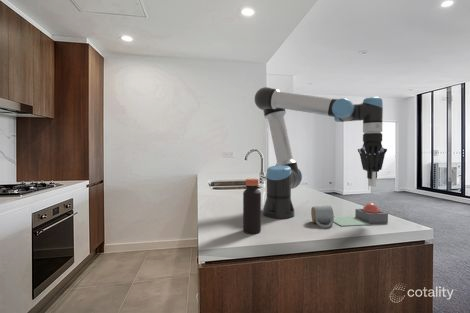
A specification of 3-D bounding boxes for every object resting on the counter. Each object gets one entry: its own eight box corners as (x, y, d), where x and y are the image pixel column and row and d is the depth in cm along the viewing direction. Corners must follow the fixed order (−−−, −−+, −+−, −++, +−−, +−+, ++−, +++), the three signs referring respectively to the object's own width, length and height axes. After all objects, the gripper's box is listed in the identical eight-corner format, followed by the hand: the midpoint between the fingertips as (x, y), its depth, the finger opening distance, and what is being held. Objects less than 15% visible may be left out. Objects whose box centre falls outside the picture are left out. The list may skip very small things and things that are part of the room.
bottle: (260, 234, 88) (260, 180, 88) (241, 233, 90) (241, 180, 89) (261, 228, 95) (261, 178, 95) (244, 227, 96) (244, 178, 96)
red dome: (369, 216, 104) (369, 204, 103) (359, 213, 110) (360, 201, 110) (382, 216, 104) (383, 204, 104) (372, 212, 111) (372, 201, 111)
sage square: (341, 226, 98) (341, 225, 98) (324, 217, 111) (324, 216, 111) (370, 225, 100) (370, 224, 100) (350, 216, 113) (350, 215, 113)
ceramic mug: (310, 220, 107) (310, 203, 107) (329, 221, 106) (329, 203, 105) (315, 228, 96) (315, 209, 96) (336, 229, 95) (336, 210, 95)
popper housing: (368, 223, 102) (369, 214, 102) (355, 217, 111) (355, 209, 111) (387, 222, 103) (388, 213, 103) (373, 216, 112) (373, 208, 112)
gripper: (364, 132, 102) (364, 187, 102) (392, 132, 103) (391, 186, 104) (353, 133, 109) (353, 185, 110) (379, 133, 111) (379, 184, 111)
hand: (372, 186), depth 107 cm, fingers closed
